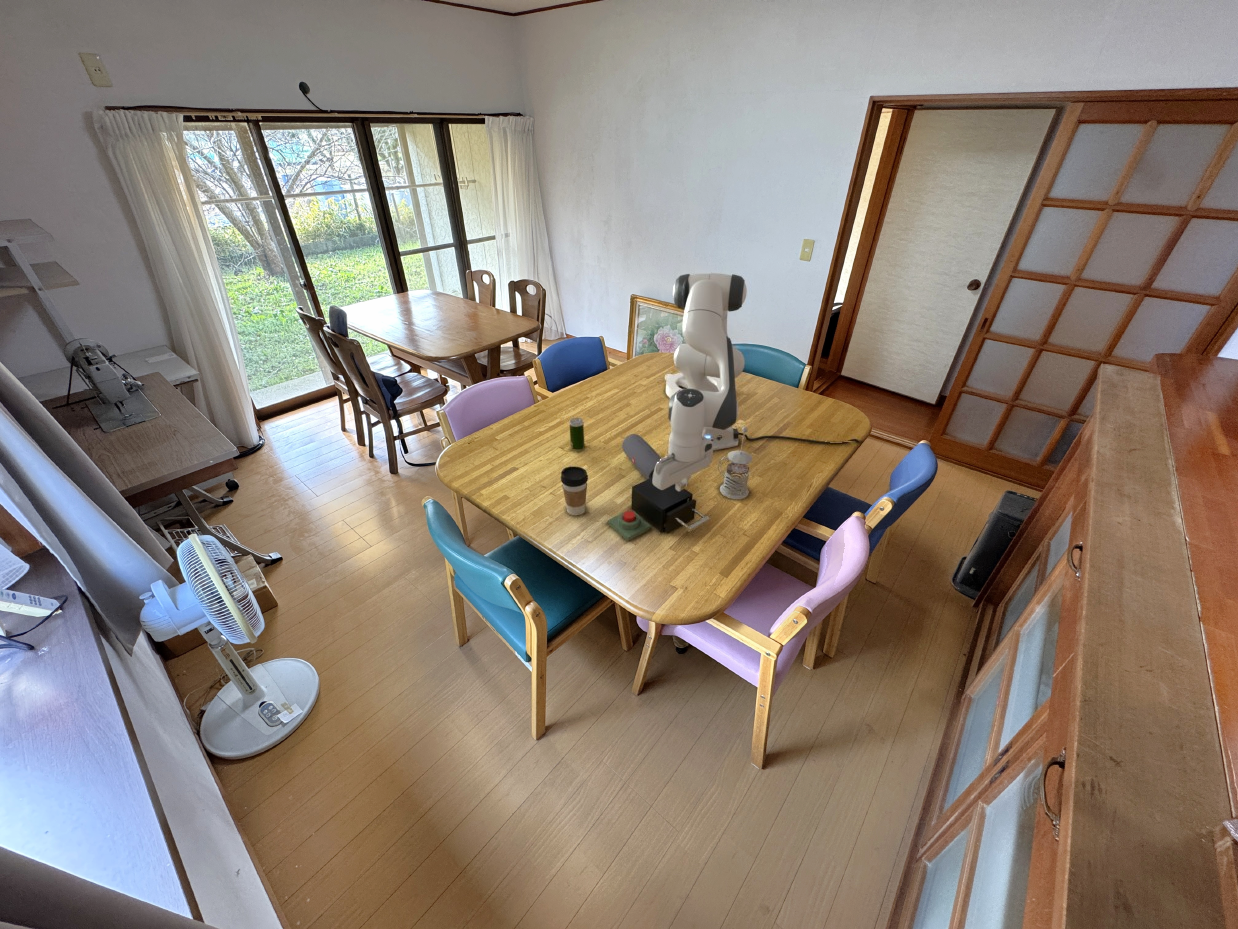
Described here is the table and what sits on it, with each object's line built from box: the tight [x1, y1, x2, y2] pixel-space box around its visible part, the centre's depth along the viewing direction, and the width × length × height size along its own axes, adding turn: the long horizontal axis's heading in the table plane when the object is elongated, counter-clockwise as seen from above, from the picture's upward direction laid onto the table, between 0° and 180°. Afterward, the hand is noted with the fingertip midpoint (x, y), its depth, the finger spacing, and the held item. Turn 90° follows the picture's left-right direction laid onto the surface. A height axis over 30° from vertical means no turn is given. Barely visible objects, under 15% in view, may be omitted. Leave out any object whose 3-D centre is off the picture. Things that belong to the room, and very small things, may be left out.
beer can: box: [568, 417, 585, 452], centre depth 185 cm, size 5×5×12 cm
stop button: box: [623, 510, 636, 522], centre depth 148 cm, size 4×4×2 cm
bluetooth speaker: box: [621, 433, 662, 480], centre depth 173 cm, size 23×9×10 cm, turn 23°
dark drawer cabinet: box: [630, 477, 694, 534], centre depth 153 cm, size 15×13×9 cm
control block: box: [607, 508, 652, 542], centre depth 149 cm, size 10×9×4 cm
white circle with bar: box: [664, 371, 721, 399], centre depth 229 cm, size 28×28×5 cm
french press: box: [717, 426, 753, 500], centre depth 160 cm, size 10×12×25 cm
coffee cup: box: [560, 466, 589, 516], centre depth 153 cm, size 8×8×15 cm
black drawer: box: [663, 498, 710, 534], centre depth 149 cm, size 21×11×7 cm, turn 38°
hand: (680, 488), depth 139 cm, fingers closed
